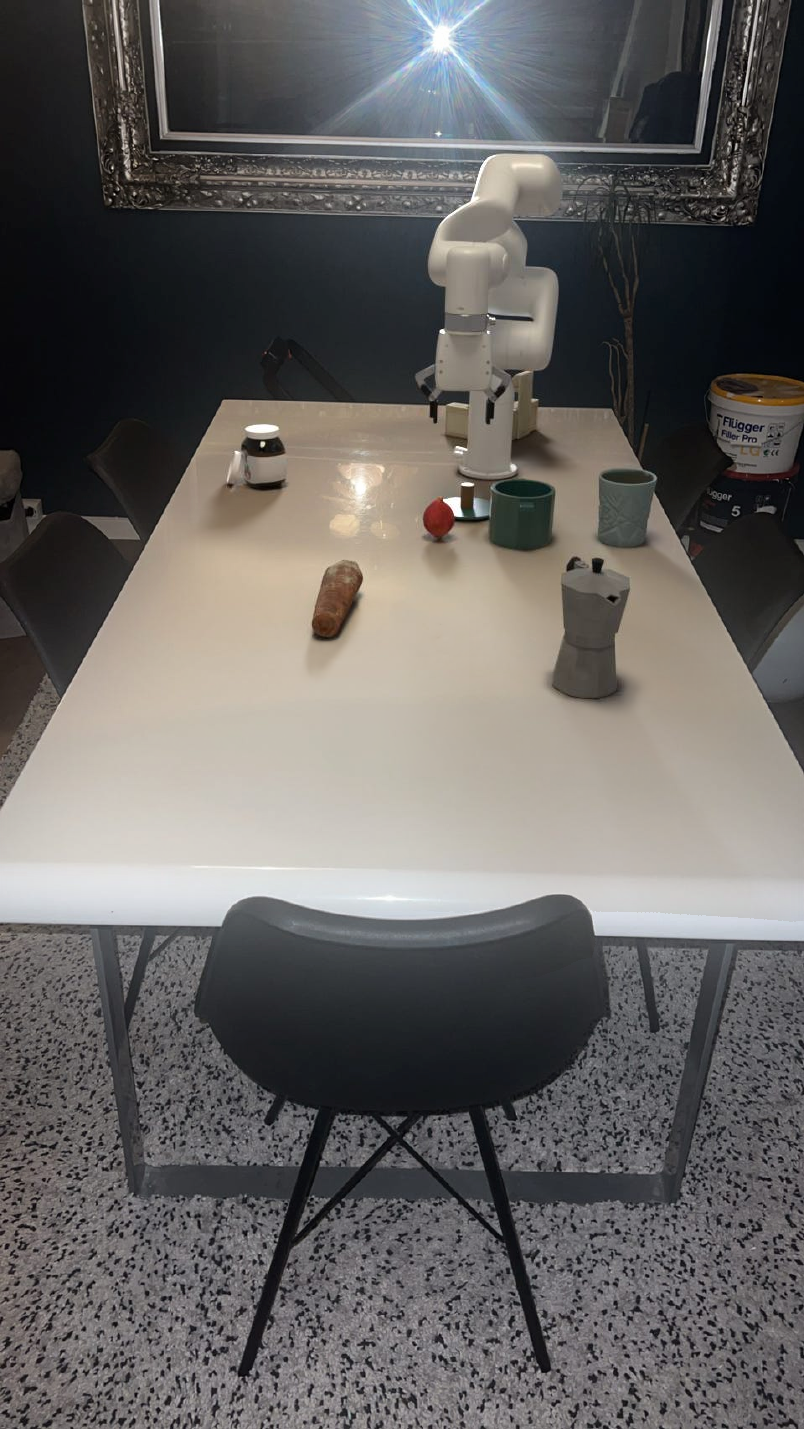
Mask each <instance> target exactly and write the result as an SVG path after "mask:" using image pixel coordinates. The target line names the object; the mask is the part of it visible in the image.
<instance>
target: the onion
mask: <svg viewBox="0 0 804 1429" xmlns="http://www.w3.org/2000/svg"><path fill="white" fill-rule="evenodd" d="M443 500H444V498H443V496H442V495H440V496H438V497H437V498H436V499H435V500H433V501H431V503H430V504H429V505H428V506H427V507H426V508H425V509H424V511H423V514H422V523H423V527H424V529H425V530H426V531H427V532H428V533H429V534H430V535H432V536H433V537H434V538H436V539H442V538H444V536H446V535H447V534H448V533H449V532H450V531H452V529H453V528H454V526H455V522H456V521H455V520H456V519H455V516H454V512H453V510H452V508H451V507H450V506H449V505H448V504H447V503H446V502H444V501H443Z"/></svg>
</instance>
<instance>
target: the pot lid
mask: <svg viewBox="0 0 804 1429" xmlns="http://www.w3.org/2000/svg"><path fill="white" fill-rule="evenodd" d="M443 501H444V502H446V503H447V504H448V505H449V506H450V507H451V508H452V510H453V512H454V516H455V520H467V521H475V520H484V519H489V515H490V500H488V499H484V498H478V497H475V483H472V482H462V483H461V484H460V497H449V498H446V499H443Z"/></svg>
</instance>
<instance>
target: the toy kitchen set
mask: <svg viewBox="0 0 804 1429" xmlns="http://www.w3.org/2000/svg"><path fill="white" fill-rule="evenodd" d="M511 378H512V380H511V382H512V385H513V387H514V393H517V401H514V411H513V426H512V441H514V440H519V439H522V438H524V437H526V436H528V435H530V434H531V433H532V432H533V431H535V430H537V428H538V414H539V413H538V412H539V399H538V398H533V384H534V383H533V382H534V371H530V370H523V371H522V372H519V373H517V374H514V376H513V377H511ZM444 417H445V418H444V419H445V423H444V435H445V436H447V437H454V438H460V439H465V440H468V422H469V404H466V403H462V402H461V403H460V402H451V403H448V404H446V405H445V416H444Z"/></svg>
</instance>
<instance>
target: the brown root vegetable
mask: <svg viewBox="0 0 804 1429" xmlns="http://www.w3.org/2000/svg"><path fill="white" fill-rule="evenodd" d="M363 582H364V575H363V572H362V570H361V568H360V565H359V563H357V561H355V560H354V561H353V560H348V559H341V560H340V561H338V562H336V563H334V564H333V565H329V566H328V567H326V569H325V571H324V574H323V576H322V580H321V583H320V587H319V590H318V594H317V598H316V601H315V606H314V609H313V616H312V620H311V628H312V630H313V632H314V633H316V634H317V635H319V636H321V637H324V638H329V637H333V636H334V635H336V634H337V633H338V631H339V629H340V626H341V624H342V623H343V621H344V620H345V618H346V616H347V614H348V611H349V609H350V607H351V605H352V603H353V602H354V600H355V598H356V596H357V594H358V592H359V591H360V589H361V586H362V584H363Z"/></svg>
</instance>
